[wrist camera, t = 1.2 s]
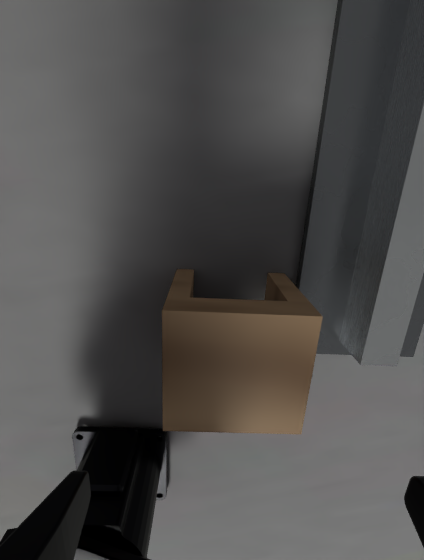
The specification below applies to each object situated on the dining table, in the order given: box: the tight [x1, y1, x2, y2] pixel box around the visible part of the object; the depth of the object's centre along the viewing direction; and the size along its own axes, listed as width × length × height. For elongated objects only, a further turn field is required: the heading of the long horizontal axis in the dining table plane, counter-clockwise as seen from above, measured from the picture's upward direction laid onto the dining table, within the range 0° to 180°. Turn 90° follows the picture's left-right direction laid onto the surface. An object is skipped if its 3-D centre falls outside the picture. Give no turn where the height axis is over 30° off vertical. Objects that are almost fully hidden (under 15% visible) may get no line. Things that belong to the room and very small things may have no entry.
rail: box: [296, 0, 424, 366], centre depth 14 cm, size 22×8×3 cm, turn 177°
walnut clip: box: [162, 269, 323, 434], centre depth 15 cm, size 6×6×6 cm
